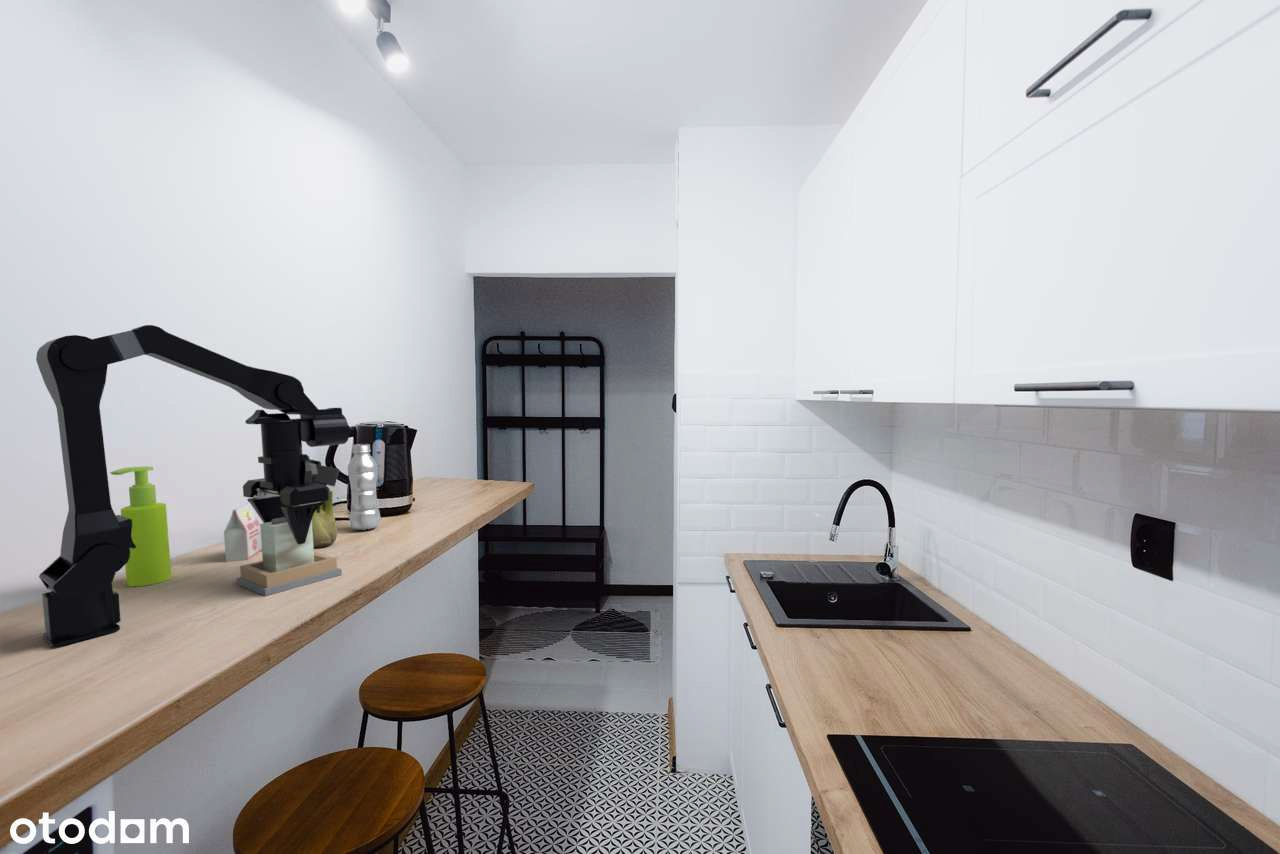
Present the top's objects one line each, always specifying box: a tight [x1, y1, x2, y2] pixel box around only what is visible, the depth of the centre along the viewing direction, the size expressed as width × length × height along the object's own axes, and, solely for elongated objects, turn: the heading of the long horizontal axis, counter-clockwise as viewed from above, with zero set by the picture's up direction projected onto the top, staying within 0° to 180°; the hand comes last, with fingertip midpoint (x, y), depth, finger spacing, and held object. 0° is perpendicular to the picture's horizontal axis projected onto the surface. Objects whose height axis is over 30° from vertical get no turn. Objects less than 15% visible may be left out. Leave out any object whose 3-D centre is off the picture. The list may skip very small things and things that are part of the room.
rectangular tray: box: [235, 551, 342, 597], centre depth 97 cm, size 12×11×3 cm
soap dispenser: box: [109, 466, 172, 587], centre depth 97 cm, size 6×7×20 cm
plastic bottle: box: [347, 443, 381, 531], centre depth 133 cm, size 6×7×20 cm
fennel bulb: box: [312, 489, 338, 548], centre depth 119 cm, size 6×5×12 cm
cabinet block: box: [260, 516, 315, 573], centre depth 97 cm, size 6×5×10 cm
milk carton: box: [223, 503, 262, 563], centre depth 112 cm, size 4×7×10 cm, turn 14°
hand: (288, 540), depth 97 cm, fingers open, 9 cm apart
